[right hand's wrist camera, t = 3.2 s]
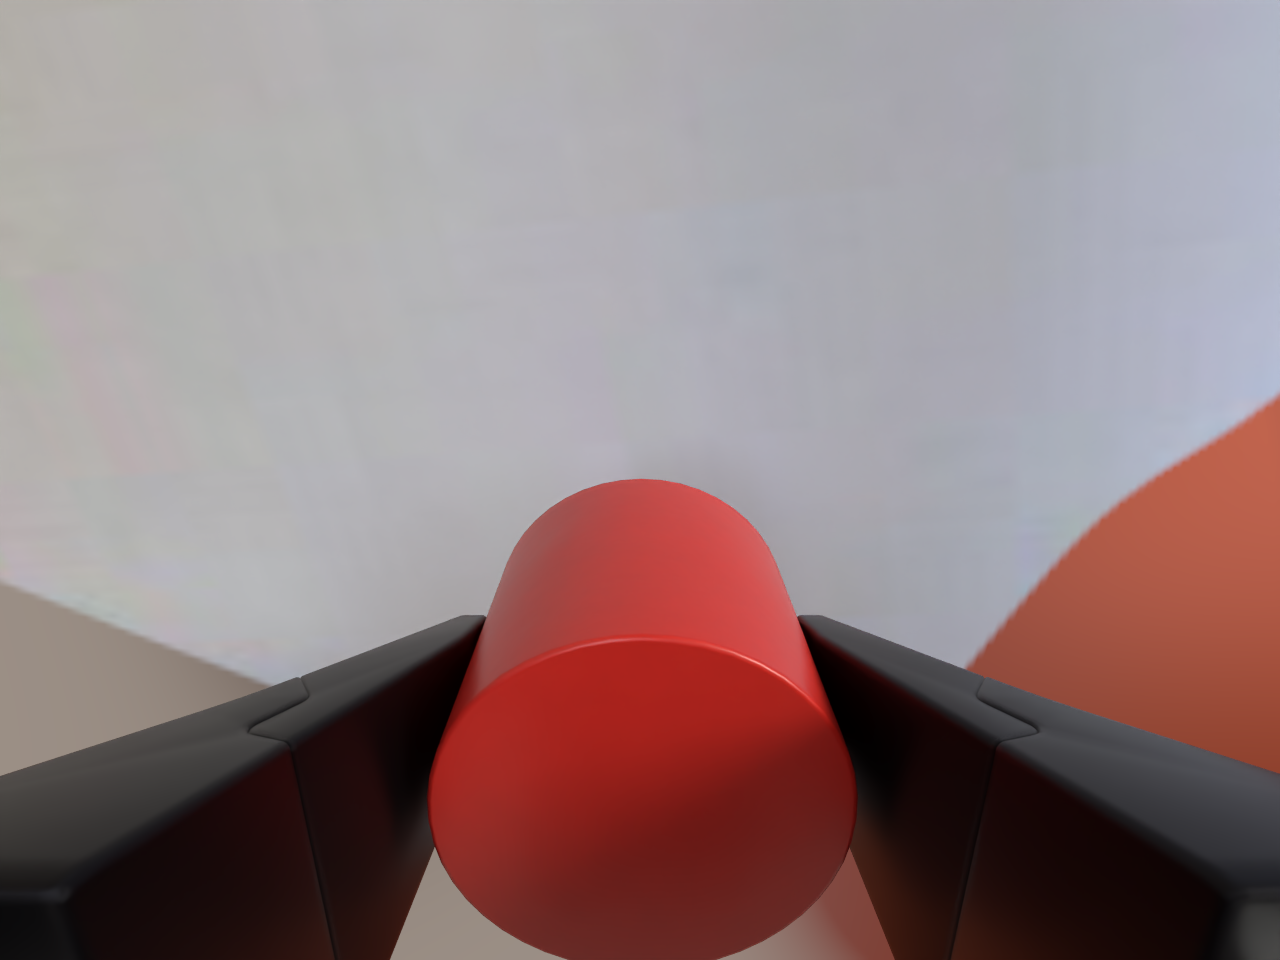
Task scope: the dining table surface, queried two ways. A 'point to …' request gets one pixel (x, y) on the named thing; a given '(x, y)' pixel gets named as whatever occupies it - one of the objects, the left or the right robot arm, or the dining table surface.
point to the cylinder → (642, 738)
